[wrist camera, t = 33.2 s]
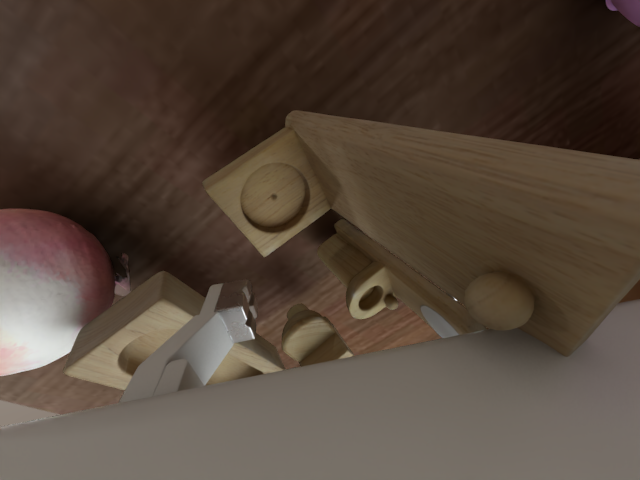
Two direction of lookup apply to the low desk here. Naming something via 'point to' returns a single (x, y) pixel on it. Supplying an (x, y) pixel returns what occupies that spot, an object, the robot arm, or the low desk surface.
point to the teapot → (626, 9)
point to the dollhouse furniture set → (405, 241)
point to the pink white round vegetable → (49, 286)
